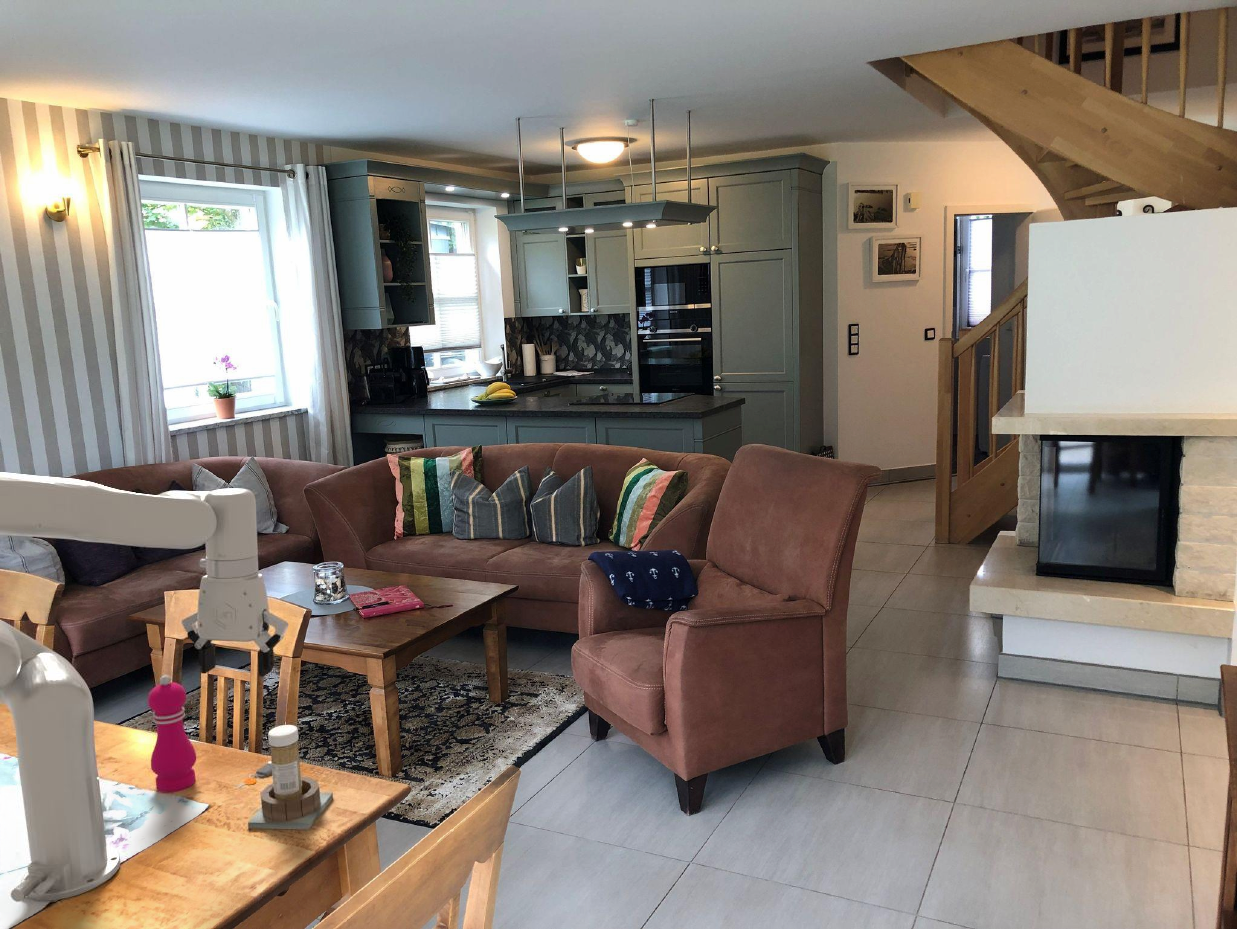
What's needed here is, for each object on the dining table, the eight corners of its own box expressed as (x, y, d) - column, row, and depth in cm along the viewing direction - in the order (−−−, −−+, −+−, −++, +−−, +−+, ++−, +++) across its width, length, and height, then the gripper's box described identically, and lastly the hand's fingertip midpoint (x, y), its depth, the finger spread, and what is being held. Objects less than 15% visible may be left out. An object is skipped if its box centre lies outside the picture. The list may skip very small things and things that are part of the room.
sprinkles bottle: (307, 799, 158) (301, 723, 156) (299, 813, 153) (293, 734, 151) (279, 801, 157) (272, 724, 155) (270, 815, 153) (264, 736, 151)
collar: (309, 829, 150) (307, 805, 149) (248, 828, 151) (246, 804, 150) (333, 798, 160) (331, 775, 159) (275, 797, 161) (274, 775, 160)
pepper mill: (206, 774, 170) (196, 668, 167) (184, 794, 162) (172, 683, 160) (168, 773, 170) (157, 667, 167) (144, 793, 163) (132, 683, 160)
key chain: (275, 762, 175) (274, 755, 175) (291, 765, 173) (290, 758, 173) (222, 795, 163) (221, 787, 163) (238, 799, 161) (238, 790, 161)
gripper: (167, 570, 147) (172, 677, 149) (273, 574, 145) (277, 683, 147) (194, 560, 154) (198, 662, 156) (295, 564, 152) (299, 667, 154)
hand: (236, 672), depth 151 cm, fingers open, 9 cm apart
